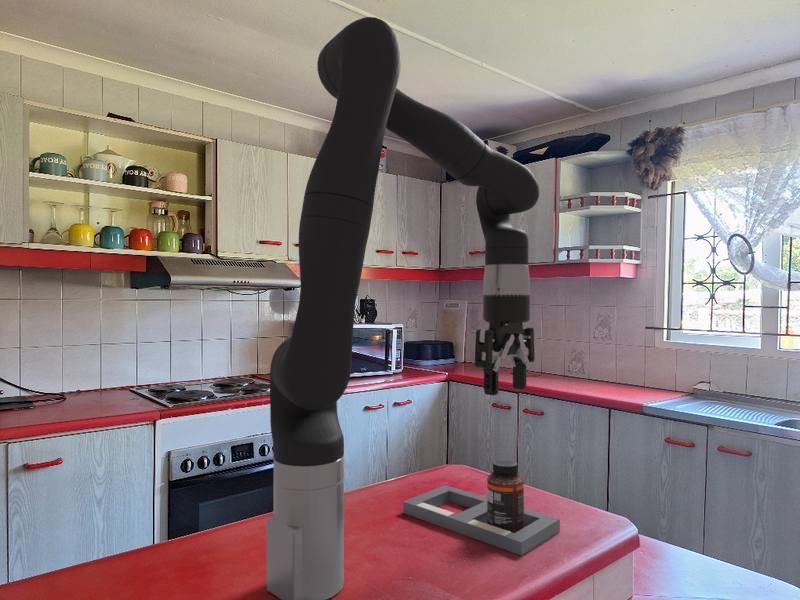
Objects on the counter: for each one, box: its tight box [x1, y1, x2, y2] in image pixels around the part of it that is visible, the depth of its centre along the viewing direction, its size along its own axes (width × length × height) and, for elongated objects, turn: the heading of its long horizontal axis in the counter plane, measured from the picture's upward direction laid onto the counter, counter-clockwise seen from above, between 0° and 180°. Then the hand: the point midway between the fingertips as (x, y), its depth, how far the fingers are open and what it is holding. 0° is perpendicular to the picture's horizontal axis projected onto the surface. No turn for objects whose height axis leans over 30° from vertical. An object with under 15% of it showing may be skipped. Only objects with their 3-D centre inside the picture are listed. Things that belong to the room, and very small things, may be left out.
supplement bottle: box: [486, 458, 525, 533], centre depth 91 cm, size 6×6×11 cm
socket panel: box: [402, 484, 561, 556], centre depth 95 cm, size 12×24×2 cm, turn 47°
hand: (505, 391), depth 91 cm, fingers open, 8 cm apart
